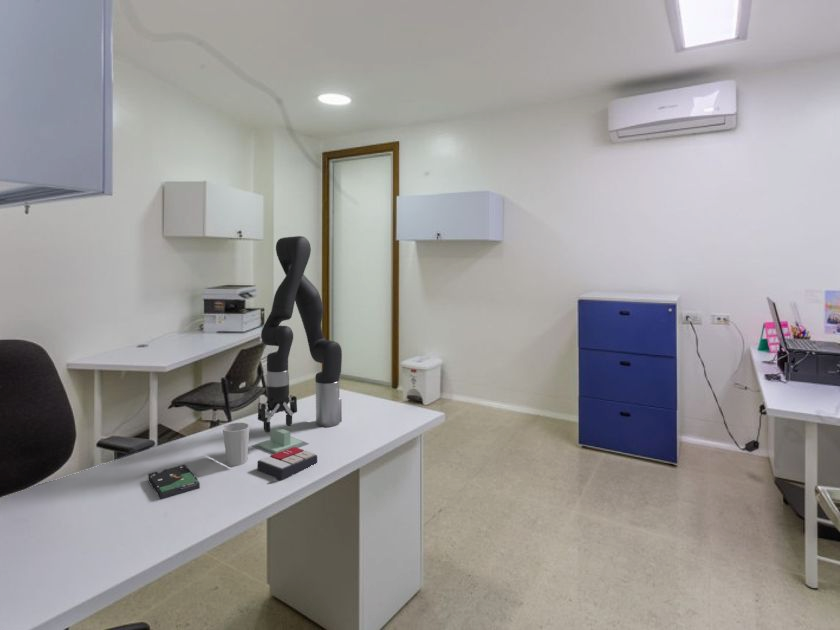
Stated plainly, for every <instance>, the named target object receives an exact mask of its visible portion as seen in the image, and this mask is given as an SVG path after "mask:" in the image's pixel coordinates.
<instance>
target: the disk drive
mask: <svg viewBox="0 0 840 630" xmlns="http://www.w3.org/2000/svg"><path fill="white" fill-rule="evenodd" d="M147 476H148V482H149V484H150V485H151V486H152V488H153V489H154V491H155V493H156V494H157V496H158V497H159V499H160V500H164V499H169V498H171V497H175V496H178V495H182V494H185V493H189V492H192V491H195V490H196V491H197V490H199V489H200V487H201V484H200V481H199V479H198V478H197V477H196V475H195V474H194V473H193V472H192V471H191V470H190V469H189V468H188V466H187V465H186V464H181V465H178V466H173V467H170V468H165V469H163V470H162V471H160V472H158V471H154V472H150V473H148V475H147Z"/></svg>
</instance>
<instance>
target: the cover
mask: <svg viewBox="0 0 840 630" xmlns="http://www.w3.org/2000/svg"><path fill="white" fill-rule="evenodd" d="M290 436H291V431H290V430H287V429H284V428H281V427H279V426H273V427H270V432H269V437H270V438H269V439H266V440H262V441H261V442H257V443H256V444H257V446H260V447H262V448H264V449H267V450H269V451H271V452H274V453H278V452H281V451H284V450H287V449H290V448H292V447H296V446H299V445H302V444H303V440H301V439H299V440H297V439H298V438H296V439H295V437H293V436H291V437H290ZM292 437H293V438H292ZM300 440H301V441H300Z"/></svg>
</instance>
